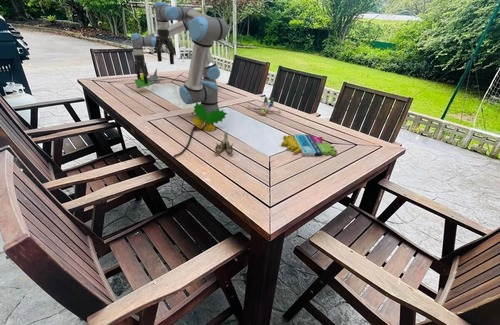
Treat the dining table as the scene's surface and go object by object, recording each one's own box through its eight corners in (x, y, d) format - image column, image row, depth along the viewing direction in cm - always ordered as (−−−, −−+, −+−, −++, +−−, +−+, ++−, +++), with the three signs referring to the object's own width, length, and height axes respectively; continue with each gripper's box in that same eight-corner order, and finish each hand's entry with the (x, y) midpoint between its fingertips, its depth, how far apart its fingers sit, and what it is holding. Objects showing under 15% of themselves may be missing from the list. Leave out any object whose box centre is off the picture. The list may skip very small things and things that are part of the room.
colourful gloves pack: (340, 153, 140) (285, 152, 138) (339, 156, 141) (285, 155, 138) (325, 134, 163) (277, 133, 160) (324, 137, 163) (277, 136, 161)
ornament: (218, 133, 171) (224, 110, 169) (221, 134, 163) (227, 111, 161) (186, 125, 162) (192, 101, 160) (189, 126, 155) (195, 101, 153)
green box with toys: (146, 84, 231) (144, 70, 225) (152, 86, 226) (150, 72, 221) (134, 86, 223) (132, 72, 217) (140, 88, 218) (138, 74, 213)
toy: (286, 98, 212) (281, 108, 186) (285, 107, 216) (280, 118, 190) (253, 94, 217) (244, 103, 191) (252, 103, 221) (243, 112, 195)
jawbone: (234, 135, 144) (233, 125, 135) (233, 160, 138) (232, 151, 129) (217, 135, 144) (216, 125, 135) (216, 160, 138) (214, 150, 129)
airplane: (130, 79, 264) (128, 69, 259) (162, 77, 277) (161, 68, 272) (135, 89, 236) (133, 78, 230) (170, 87, 249) (169, 76, 244)
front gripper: (146, 27, 177) (150, 60, 188) (170, 30, 165) (172, 65, 175) (156, 27, 183) (159, 59, 193) (179, 30, 170) (181, 64, 180)
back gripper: (127, 53, 215) (131, 81, 226) (142, 56, 204) (146, 85, 215) (135, 52, 220) (139, 80, 231) (150, 56, 209) (154, 84, 220)
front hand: (165, 62), depth 184 cm, fingers open, 13 cm apart
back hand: (143, 82), depth 223 cm, fingers closed on green box with toys, 9 cm apart
